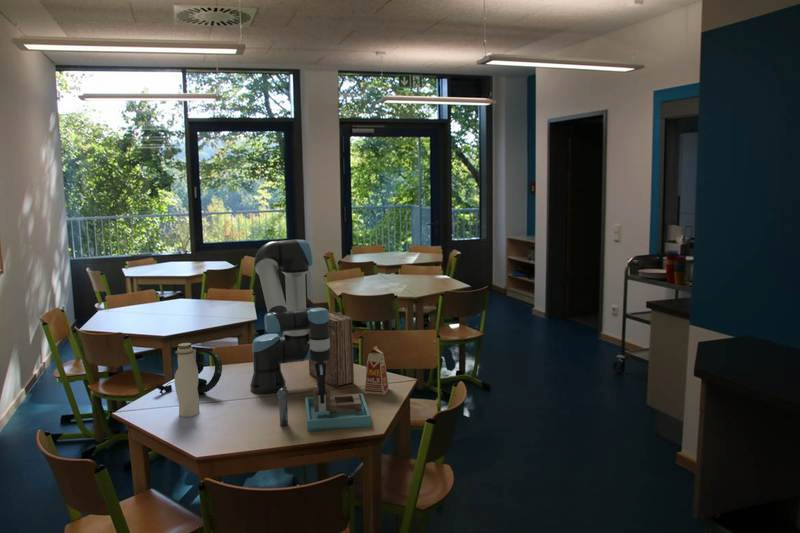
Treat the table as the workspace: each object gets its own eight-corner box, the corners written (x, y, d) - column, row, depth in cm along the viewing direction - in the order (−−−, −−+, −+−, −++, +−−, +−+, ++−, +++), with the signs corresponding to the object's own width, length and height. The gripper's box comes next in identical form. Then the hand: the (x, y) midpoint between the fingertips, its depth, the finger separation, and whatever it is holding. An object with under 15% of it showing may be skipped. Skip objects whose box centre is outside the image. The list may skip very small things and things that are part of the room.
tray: (305, 407, 266) (305, 397, 266) (362, 402, 270) (362, 393, 269) (307, 431, 241) (307, 421, 240) (370, 426, 244) (370, 415, 244)
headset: (178, 410, 291) (230, 383, 283) (155, 406, 279) (208, 378, 271) (173, 372, 299) (222, 345, 291) (150, 367, 287) (201, 339, 279)
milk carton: (384, 394, 279) (383, 348, 277) (363, 393, 281) (361, 347, 278) (389, 387, 288) (388, 342, 285) (368, 386, 290) (367, 342, 287)
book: (354, 383, 295) (352, 317, 290) (336, 388, 289) (333, 320, 285) (326, 370, 315) (324, 308, 311) (309, 374, 310) (306, 311, 306)
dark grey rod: (278, 423, 250) (276, 387, 248) (289, 422, 250) (287, 386, 248) (278, 426, 246) (276, 390, 244) (289, 426, 246) (287, 389, 244)
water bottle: (180, 408, 267) (176, 341, 263) (203, 407, 268) (199, 340, 264) (174, 418, 257) (169, 347, 253) (198, 416, 258) (193, 346, 254)
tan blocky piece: (313, 404, 259) (312, 384, 258) (358, 400, 262) (357, 381, 261) (315, 415, 247) (314, 394, 246) (361, 411, 250) (361, 390, 249)
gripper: (308, 343, 259) (311, 401, 262) (310, 355, 241) (313, 417, 244) (328, 342, 260) (330, 399, 263) (331, 354, 242) (333, 415, 245)
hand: (322, 408), depth 254 cm, fingers closed on tan blocky piece, 5 cm apart
